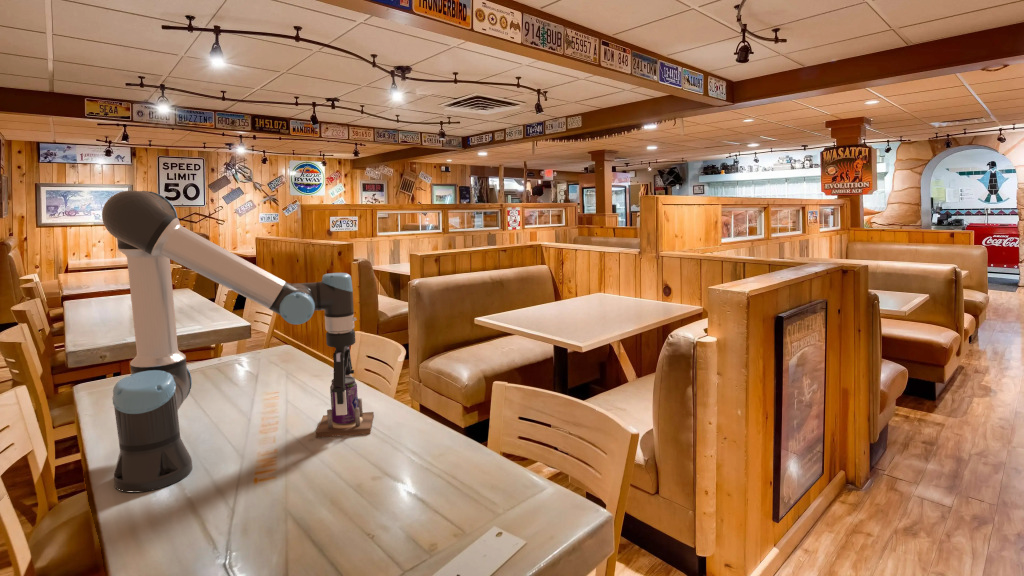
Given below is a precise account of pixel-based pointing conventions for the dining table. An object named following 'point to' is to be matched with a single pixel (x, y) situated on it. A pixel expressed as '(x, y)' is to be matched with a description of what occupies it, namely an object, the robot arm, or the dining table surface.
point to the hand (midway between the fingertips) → (344, 405)
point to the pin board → (357, 427)
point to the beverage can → (350, 400)
